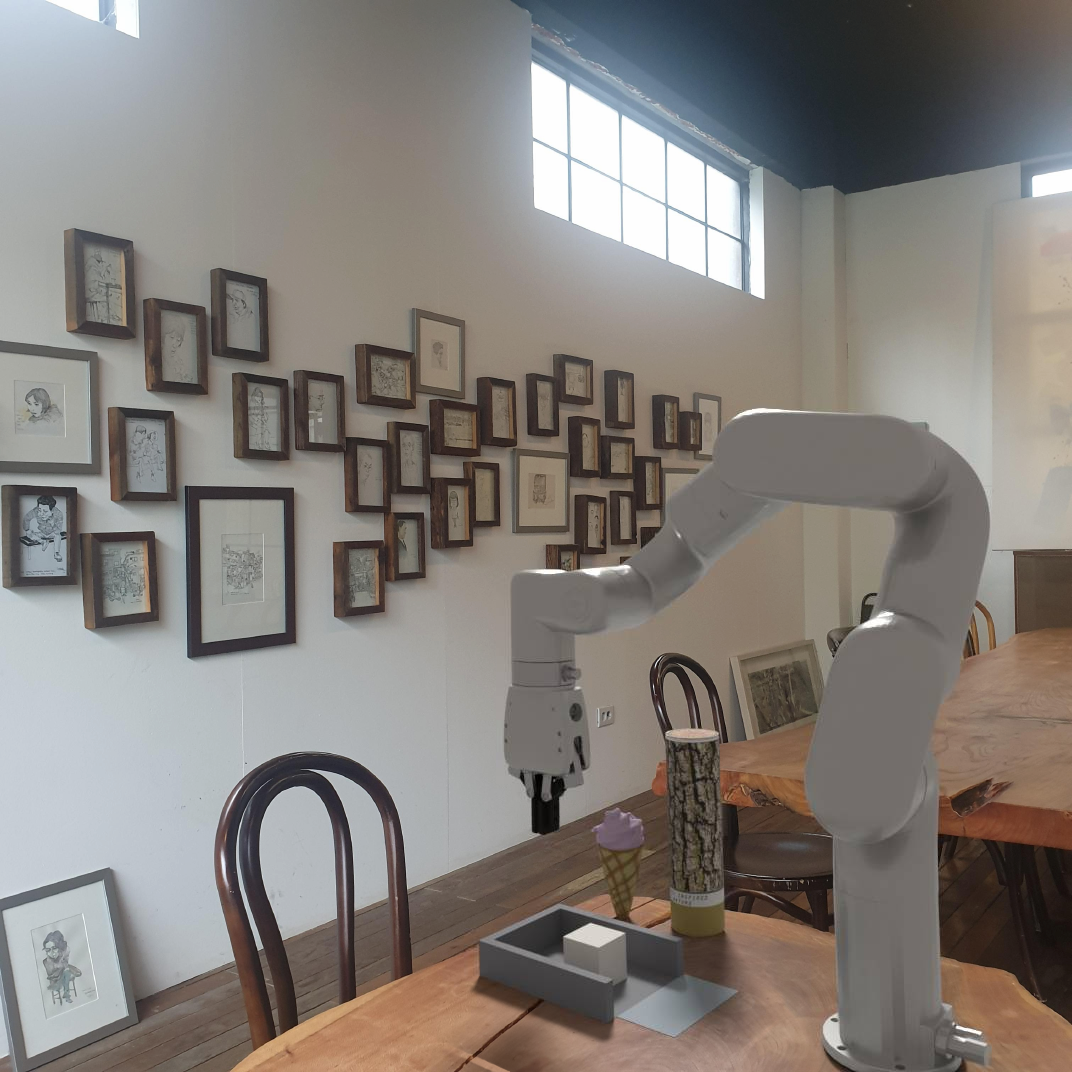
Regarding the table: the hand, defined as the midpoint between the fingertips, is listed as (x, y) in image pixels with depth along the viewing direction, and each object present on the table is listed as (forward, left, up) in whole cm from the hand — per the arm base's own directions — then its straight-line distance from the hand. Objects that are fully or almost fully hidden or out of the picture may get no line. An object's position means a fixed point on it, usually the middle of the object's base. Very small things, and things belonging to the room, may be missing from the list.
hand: (545, 831), depth 113 cm
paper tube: (-8, -20, -16) cm, 27 cm away
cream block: (-7, 0, -16) cm, 17 cm away
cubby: (-8, 0, -16) cm, 18 cm away
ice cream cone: (+2, -17, -16) cm, 24 cm away
